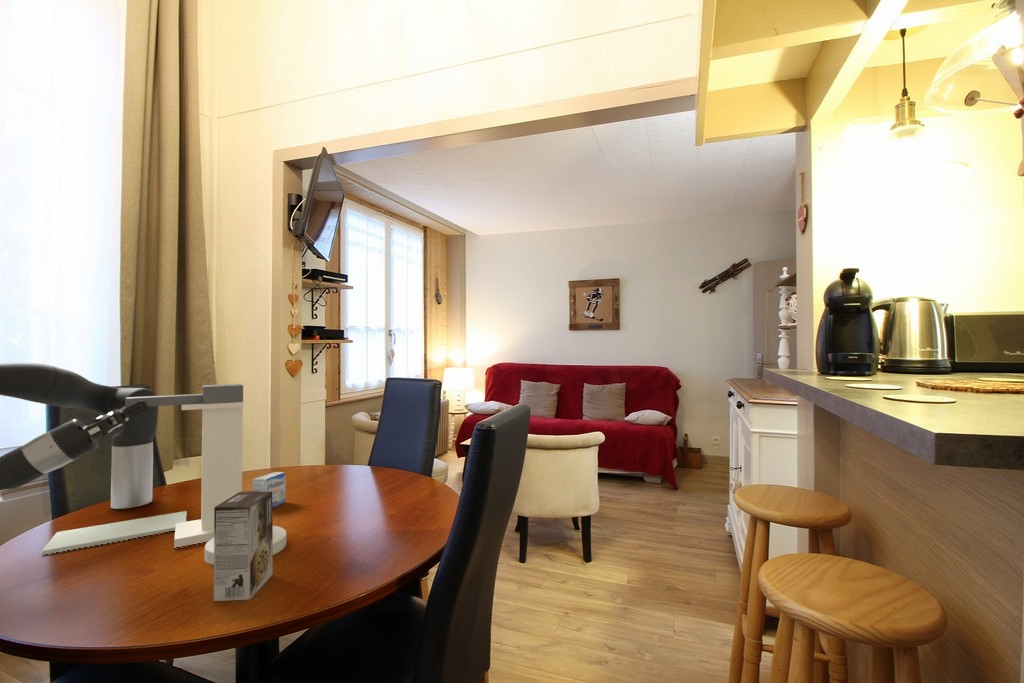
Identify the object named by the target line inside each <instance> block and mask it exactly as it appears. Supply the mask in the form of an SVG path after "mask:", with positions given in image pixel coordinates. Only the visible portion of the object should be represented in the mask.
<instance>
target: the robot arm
mask: <svg viewBox="0 0 1024 683" xmlns="http://www.w3.org/2000/svg"><path fill="white" fill-rule="evenodd" d="M0 396H3V397H4V396H5V397H10V398H14V399H19V400H25V401H28V402H32V403H38V404H41V405H42V404H43V405H49V406H55V407H62V408H72V409H80V410H81V409H82V410H86V411H90V412H93V413H97V414H100V415H98V416H97V417H95V418H93V419H92V420H91V421H92V423H91V424H89V425H86V424H85V422H83V421H82V420H80V419H78V418H73V419H71V420H69V421H66V422H64V423H63V424H61V425H59V426H56V427H55V428H53V429H51V430H48V431H47V432H45V433H42V434H41V435H39V436H37V437H34V438H33V439H32V440H29V441H28V442H27V443H25V444H23V445H21V446H19V447H17V448H14V449H13V450H11V451H9V452H7V453H5V454H3V455H1V456H0V491H4V490H5V491H6V490H7V491H8V490H15V489H18V488H21V487H22V486H25V485H28V483H30V482H33V481H35V480H37V479H38V478H41V477H42V476H44V475H46V474H48V473H50V472H53V471H55V470H57V469H61V468H62V467H64V466H65V465H67V464H69V463H72V462H74V461H75V460H78V459H79V458H81V457H83V456H84V455H87V454H89V453H91V452H93V451H94V450H96V449H98V448H99V445H100V444H99V441H98V439H97V438H98V436H100V435H103V436H106V435H107V434H109V433H111V432H112V431H113V430H115V429H117V428H119V427H121V426H122V429H121V431H119V432H118V433H115V434H114V435H113V436H112V437H111V473H110V474H111V476H110V480H111V481H110V508H111V509H115V510H122V509H123V510H125V509H131V508H136V507H141V506H145V505H148V504H149V503H151V502H153V487H154V486H153V485H154V484H153V481H154V480H153V477H154V475H153V473H154V470H153V469H154V468H153V467H154V436H155V434H156V432H157V428H158V416H159V406H150V407H148V405H147V404H146V402H145V401H144V400H141V401H139V402H137V403H135V404H133V405H131V406H129V407H127V408H125V399H126V398H127V397H147V396H157V394H156V393H155V392H154V391H153V390H152V389H149V388H147V387H146V388H143V387H119V386H118V387H117V386H110V385H103V384H100V383H95V382H93V381H91V380H89V379H87V378H86V377H84V376H82V375H81V374H79V373H76V372H74V371H72V370H68V369H66V368H65V369H64V368H62V367H58V366H54V365H50V364H46V363H39V362H0Z"/></svg>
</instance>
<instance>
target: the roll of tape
mask: <svg viewBox="0 0 1024 683" xmlns="http://www.w3.org/2000/svg"><path fill="white" fill-rule="evenodd" d="M286 545H287V530H286V529H284V528H283V527H281V526H277V525H273V555H276V554H278V553H279V552H281V551H282V550H284V548H286ZM204 561H205V563H207V564H209V565H212V566H214V538H212V539H211V540H210V541H208V542H206V543H205V545H204Z"/></svg>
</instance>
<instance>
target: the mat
mask: <svg viewBox="0 0 1024 683" xmlns="http://www.w3.org/2000/svg"><path fill="white" fill-rule="evenodd" d="M187 512H188V511H187V510H184V511H178V512H171V513H165V514H159V515H153V516H148V517H140V518H134V519H130V520H129V519H128V520H124V521H117V522H116V521H115V522H111V523H106V524H105V523H104V524H99V525H92V526H87V527H80V528H74V529H69V530H61V531H56V533H55V534H54V535H53V536H52V538H51V539H50V540H49V541H48V543H47V544H46V545H45V547H44V548H43V549H42V551H41V556H42V555H43V556H46V555H45V554H48V555H52V554H51V553H54V554H57V553H56V552H59V553H64V552H63V551H65V552H68V551H67V550H70V551H74V550H73V549H76V550H79V549H78V548H81V549H85V548H84V547H87V548H91V547H90V546H92V547H96V546H95V545H98V546H102V545H101V544H103V545H107V543H109V544H113V543H112V542H114V543H119V542H118V541H120V542H124V541H123V540H125V541H129V540H128V539H131V540H133V539H132V538H136V539H138V538H137V537H142V538H144V537H143V536H147V535H153V534H158V533H164V532H169V531H175V528H176V523H182V522H187V518H186V517H187V516H188V514H187ZM169 533H170V532H169ZM164 534H165V533H164ZM158 535H159V534H158ZM153 536H154V535H153ZM147 537H148V536H147Z"/></svg>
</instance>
